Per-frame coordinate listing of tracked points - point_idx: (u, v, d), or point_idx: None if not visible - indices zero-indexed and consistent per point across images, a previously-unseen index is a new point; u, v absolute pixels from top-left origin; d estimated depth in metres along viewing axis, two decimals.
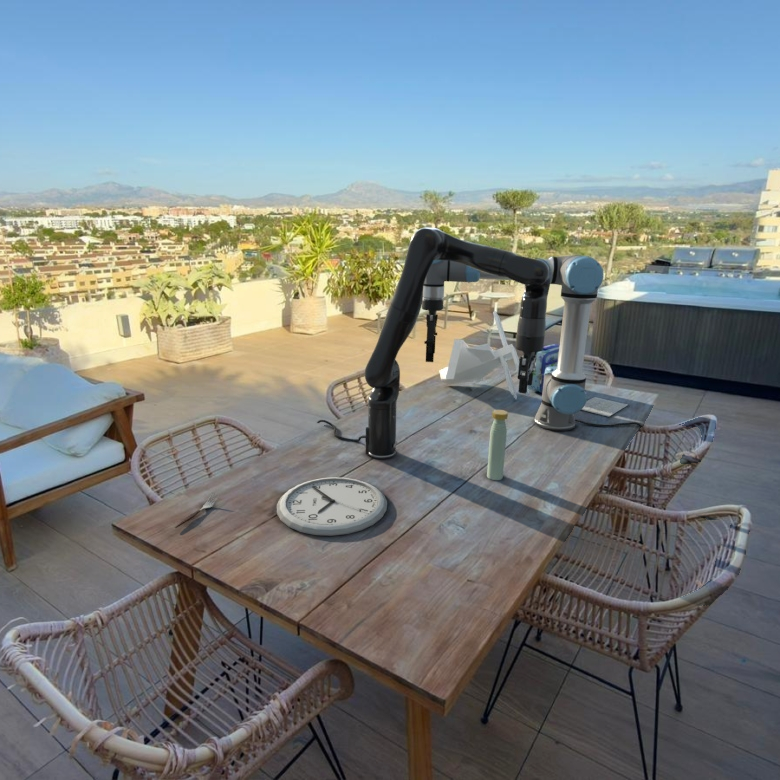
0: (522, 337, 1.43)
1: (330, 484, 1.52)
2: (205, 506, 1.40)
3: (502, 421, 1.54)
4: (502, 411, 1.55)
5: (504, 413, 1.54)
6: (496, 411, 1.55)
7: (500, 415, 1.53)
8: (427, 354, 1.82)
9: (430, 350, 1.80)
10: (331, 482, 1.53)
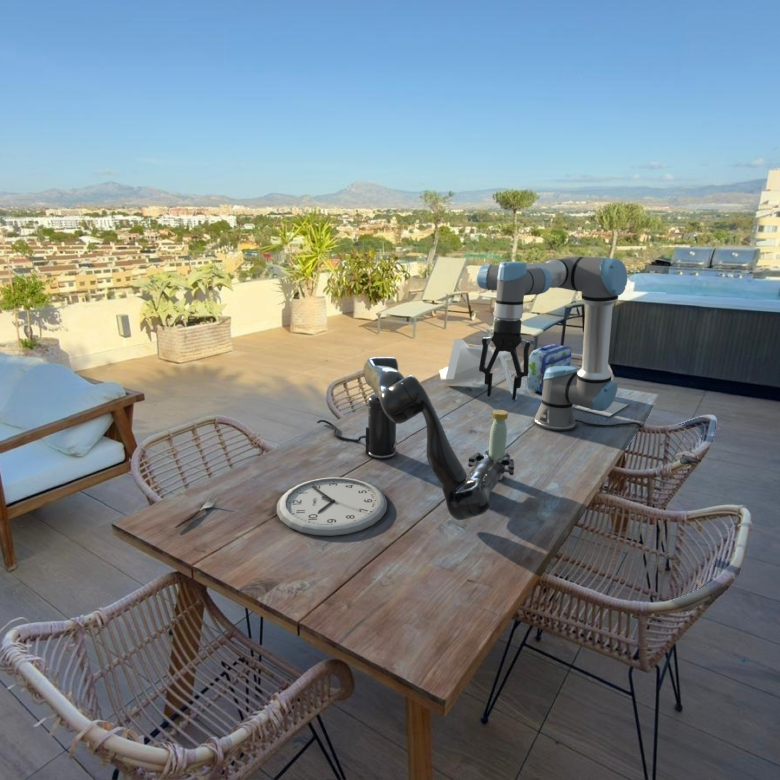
0: None
1: (330, 484, 1.52)
2: (205, 506, 1.40)
3: (502, 421, 1.54)
4: (502, 411, 1.55)
5: (504, 413, 1.54)
6: (496, 411, 1.55)
7: (500, 415, 1.53)
8: None
9: None
10: (331, 482, 1.53)
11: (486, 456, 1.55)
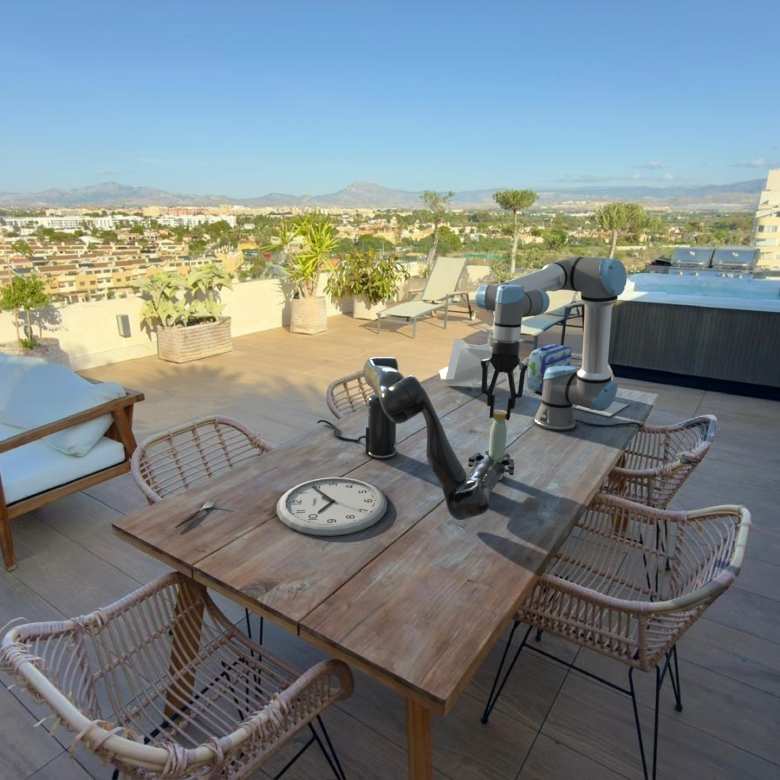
0: None
1: (330, 484, 1.52)
2: (205, 506, 1.40)
3: (502, 421, 1.54)
4: (502, 411, 1.55)
5: (504, 413, 1.54)
6: (496, 411, 1.55)
7: (500, 415, 1.53)
8: None
9: (487, 402, 1.55)
10: (331, 482, 1.53)
11: (486, 456, 1.55)
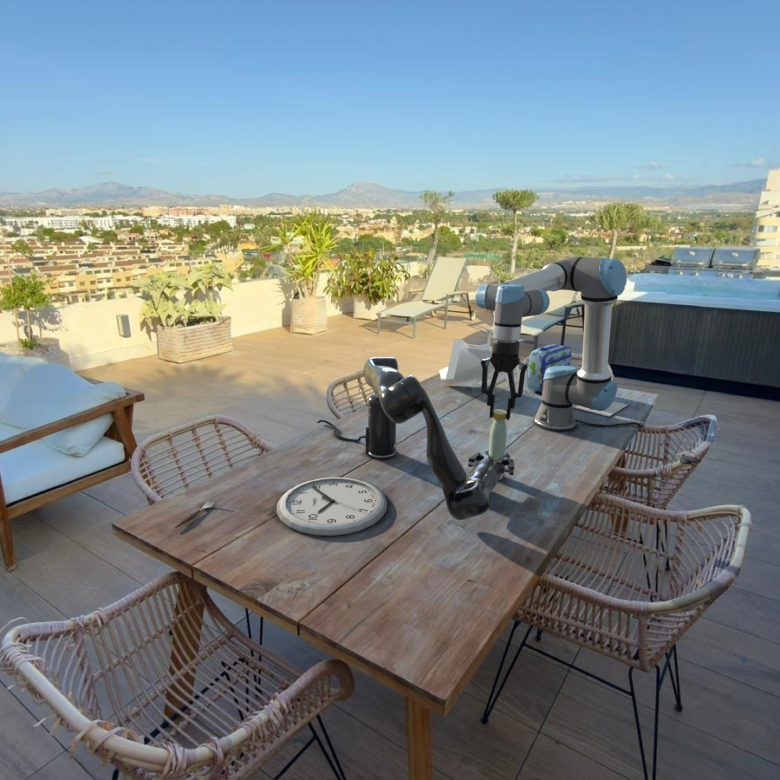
0: None
1: (330, 484, 1.52)
2: (205, 506, 1.40)
3: (502, 421, 1.54)
4: (497, 411, 1.55)
5: (502, 410, 1.56)
6: (500, 413, 1.54)
7: None
8: None
9: (487, 401, 1.55)
10: (331, 482, 1.53)
11: (486, 456, 1.55)
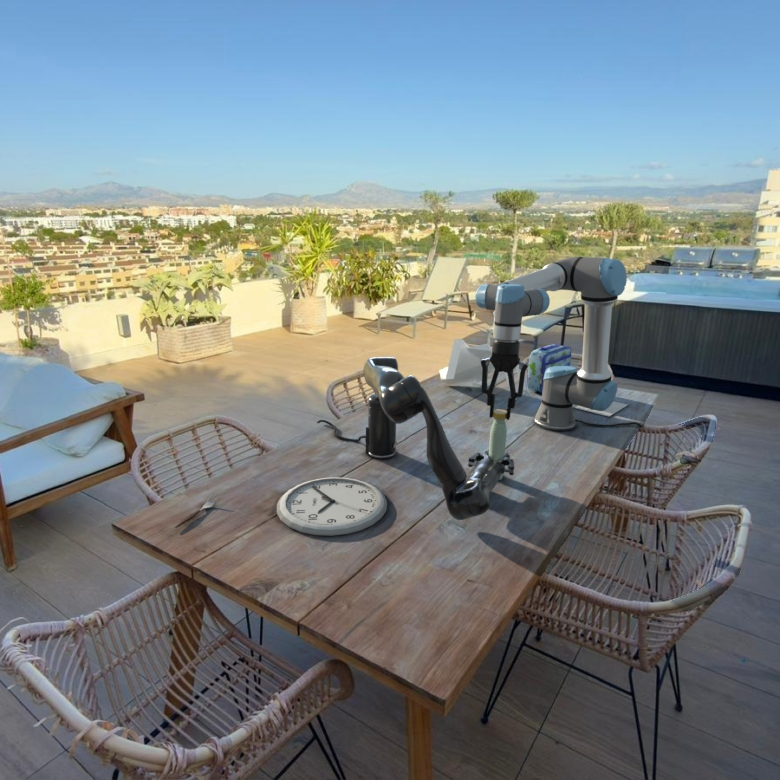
0: None
1: (330, 484, 1.52)
2: (205, 506, 1.40)
3: (502, 421, 1.54)
4: (499, 412, 1.54)
5: (495, 411, 1.55)
6: (504, 411, 1.55)
7: None
8: None
9: (487, 401, 1.55)
10: (331, 482, 1.53)
11: (486, 456, 1.55)
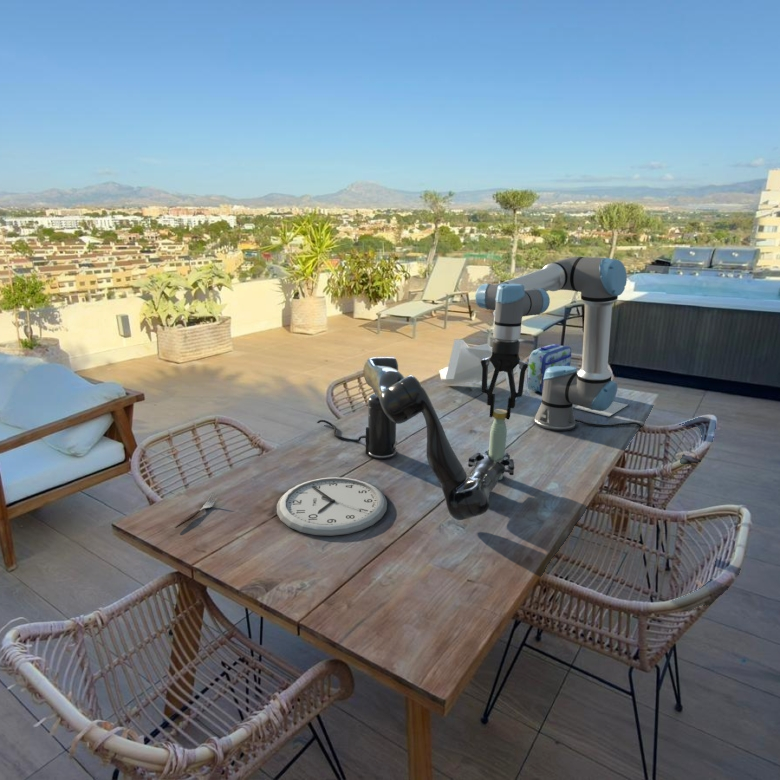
0: None
1: (330, 484, 1.52)
2: (205, 506, 1.40)
3: (502, 421, 1.54)
4: (503, 411, 1.54)
5: (501, 413, 1.53)
6: (498, 410, 1.56)
7: (495, 413, 1.53)
8: None
9: (487, 401, 1.55)
10: (331, 482, 1.53)
11: (486, 456, 1.55)
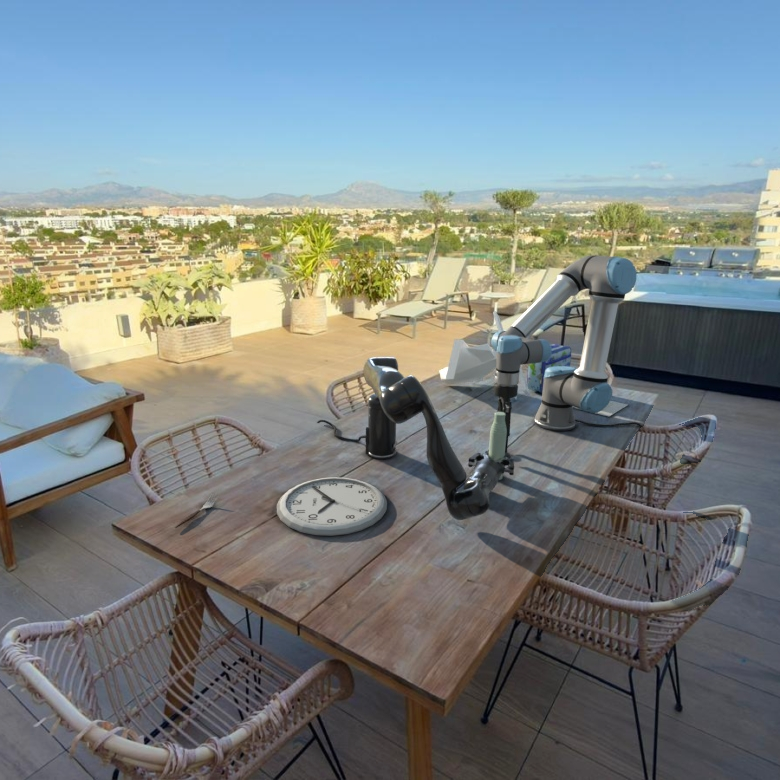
0: None
1: (330, 484, 1.52)
2: (205, 506, 1.40)
3: (502, 421, 1.54)
4: None
5: None
6: None
7: None
8: None
9: None
10: (331, 482, 1.53)
11: (486, 456, 1.55)
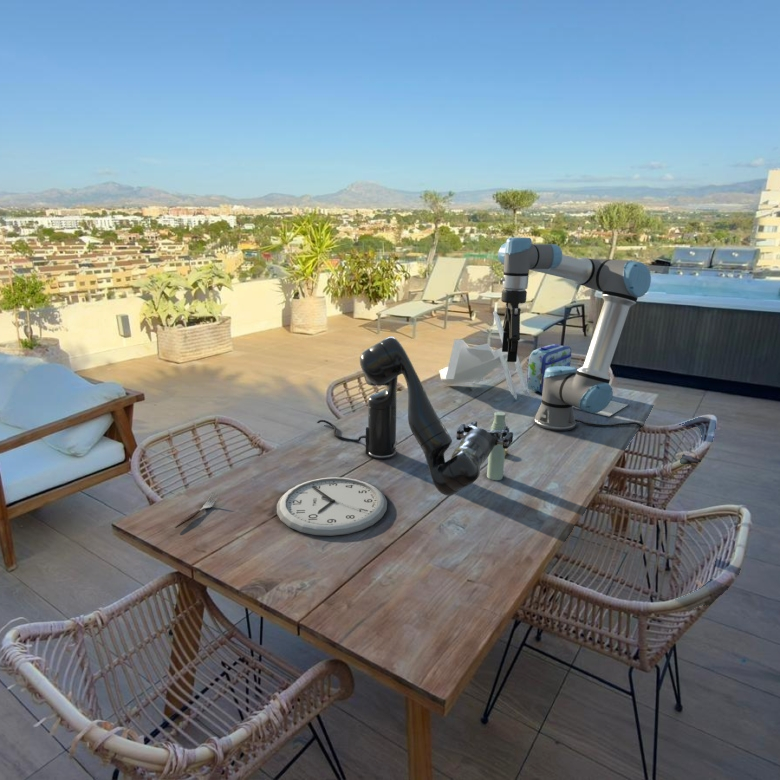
0: None
1: (330, 484, 1.52)
2: (205, 506, 1.40)
3: (502, 421, 1.54)
4: None
5: None
6: None
7: (506, 451, 1.76)
8: (509, 353, 1.60)
9: (514, 348, 1.58)
10: (331, 482, 1.53)
11: (474, 427, 1.40)
